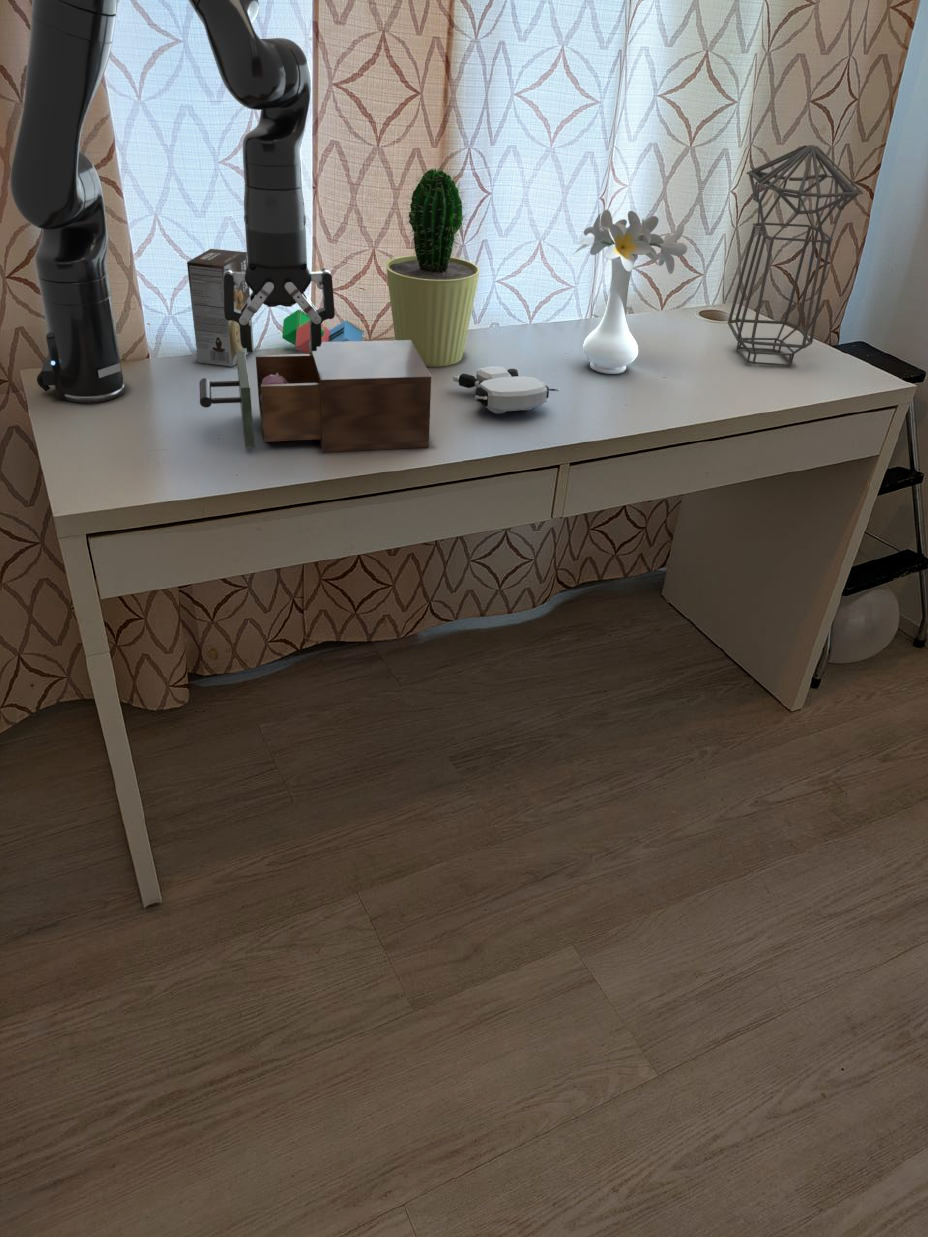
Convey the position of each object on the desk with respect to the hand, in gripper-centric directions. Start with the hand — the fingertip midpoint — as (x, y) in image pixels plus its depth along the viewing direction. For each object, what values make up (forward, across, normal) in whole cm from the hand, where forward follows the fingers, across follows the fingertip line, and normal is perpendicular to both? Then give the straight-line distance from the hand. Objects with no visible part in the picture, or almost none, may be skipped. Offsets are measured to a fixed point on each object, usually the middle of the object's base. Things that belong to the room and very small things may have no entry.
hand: (281, 349), depth 131 cm
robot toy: (+12, -34, -8) cm, 37 cm away
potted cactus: (+12, -27, -30) cm, 42 cm away
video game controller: (+10, 0, 0) cm, 10 cm away
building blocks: (+12, -9, -32) cm, 35 cm away
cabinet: (+12, -12, 0) cm, 17 cm away
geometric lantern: (+12, -87, -24) cm, 91 cm away
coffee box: (+12, +7, -32) cm, 35 cm away
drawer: (+11, +2, 0) cm, 11 cm away
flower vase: (+12, -57, -22) cm, 62 cm away
